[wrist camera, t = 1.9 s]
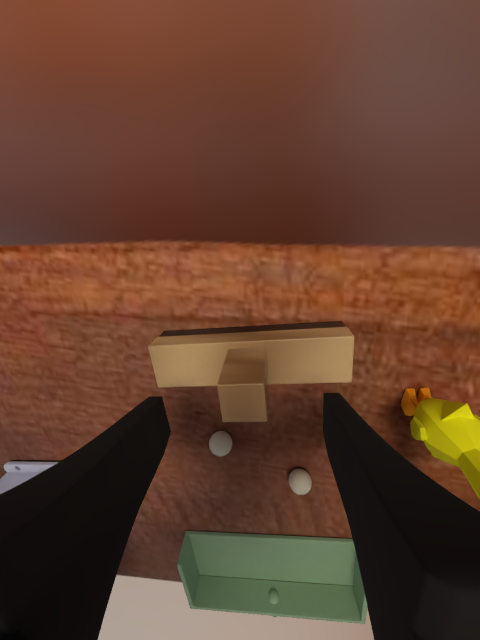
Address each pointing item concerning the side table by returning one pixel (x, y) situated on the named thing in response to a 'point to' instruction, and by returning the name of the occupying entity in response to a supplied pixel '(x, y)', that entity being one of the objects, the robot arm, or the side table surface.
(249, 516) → the side table surface
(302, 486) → the crumb
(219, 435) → the crumb
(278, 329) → the brush
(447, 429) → the toy figure
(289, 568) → the dustpan
